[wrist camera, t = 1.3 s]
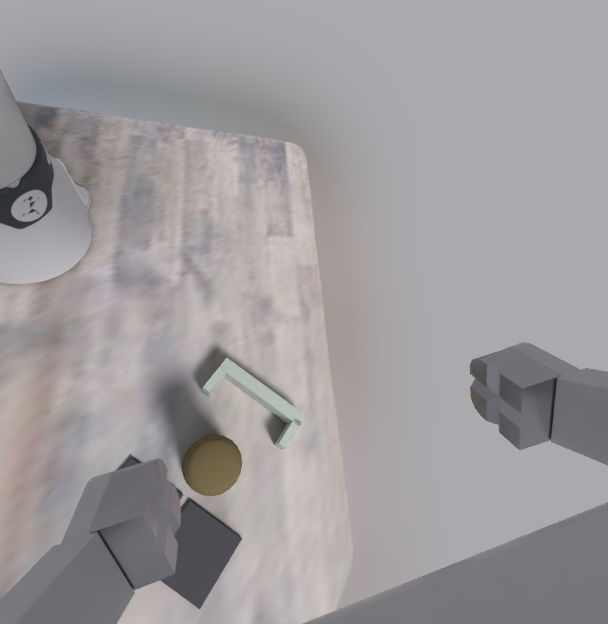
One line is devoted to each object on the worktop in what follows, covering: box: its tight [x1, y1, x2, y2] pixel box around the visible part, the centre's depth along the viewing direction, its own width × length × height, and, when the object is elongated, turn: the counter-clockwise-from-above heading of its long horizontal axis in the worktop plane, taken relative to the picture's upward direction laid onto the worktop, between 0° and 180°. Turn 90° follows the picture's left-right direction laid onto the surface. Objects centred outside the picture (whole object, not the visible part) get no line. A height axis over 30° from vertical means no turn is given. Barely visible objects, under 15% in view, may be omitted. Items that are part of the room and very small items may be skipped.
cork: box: [183, 435, 242, 496], centre depth 37 cm, size 6×6×11 cm
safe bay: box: [202, 358, 306, 449], centre depth 44 cm, size 12×4×3 cm, turn 57°
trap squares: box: [123, 458, 242, 609], centre depth 38 cm, size 15×7×1 cm, turn 57°
